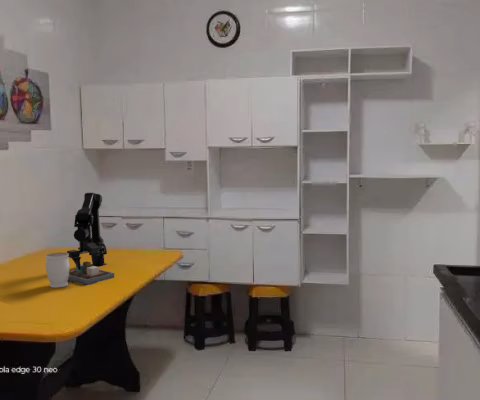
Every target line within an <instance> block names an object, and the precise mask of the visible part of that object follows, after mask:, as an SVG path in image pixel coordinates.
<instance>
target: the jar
mask: <svg viewBox="0 0 480 400" xmlns="http://www.w3.org/2000/svg"><path fill="white" fill-rule="evenodd" d="M68 256H69V253H67V252H54V253H52V252H51V253H48V254H45V255H44V258H45V259H46V262H45V272H46V275H47V276H46V277H47V279H48V282H49V287H50V288H52V289H57V288H58V289H59V288H65V287H67V286H68V285H69V282H68V281H69V280H68V278H69V271H71V269H70V268H71V265H70V260H69V259H70V258H69V257H68Z"/></svg>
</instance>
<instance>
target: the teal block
mask: <svg viewBox="0 0 480 400" xmlns="http://www.w3.org/2000/svg"><path fill="white" fill-rule="evenodd" d="M80 266H81V268H80V270H78V268H77V266H76V265H75V270H76V272H77V273H82V274H83V263H80Z"/></svg>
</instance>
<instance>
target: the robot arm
mask: <svg viewBox="0 0 480 400" xmlns="http://www.w3.org/2000/svg"><path fill="white" fill-rule="evenodd" d="M83 197H84V198H83V199H84V200H83V202H82V205H81V208H80V209H78V210H77V212H76V214H75V215H74V216H75V217H74V225H73V227H74V228H77V229H76V230H75V231H74V233H73V237H74V239H75V240H76V241H77V242H79V244H78V245H79V247H77V249H78V250H77V249H70V250H67V251H66V253H69V256H68V258H69V259H71V260H72V261H73V262H74V264H75V267H76V266H77V268H78V270H80V268H81V266H80V264H81V258H82V256H81V255H82V254H88V255H89V256H91V266H96V267H102V266H106V265H108V264H107V263H105V255H107V254H108V252H107V251H108V250H107V246H106V244H105V243H104V239H103V237H102V236H101V227H100V226H101V225H100V208H101V206H102V203H103V196H102V195H101V194H99V193H95V192H85V193H84V195H83Z"/></svg>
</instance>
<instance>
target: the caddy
mask: <svg viewBox="0 0 480 400" xmlns="http://www.w3.org/2000/svg"><path fill="white" fill-rule="evenodd" d="M82 264H83V274H82V273H77V272H76V269H72V270H73V271H72V270H69V271H70V275H72V276H76V277H80V278H84V279H91V278H95V277H99V276H103V275H105V273H103V272H99V274H97V275H93V276H90V275H87V267H91V264H92V261H83V262H82Z"/></svg>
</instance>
